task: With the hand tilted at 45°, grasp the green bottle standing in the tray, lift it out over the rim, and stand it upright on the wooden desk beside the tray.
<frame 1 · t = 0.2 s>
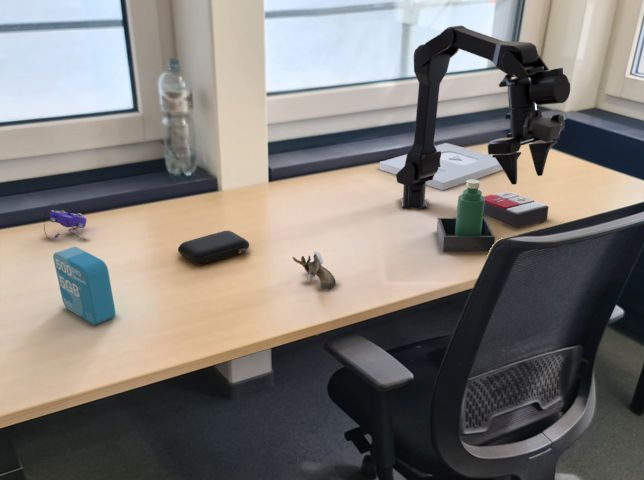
hand: (527, 179, 168), 15 cm above the table, tool pointing down, fingers open, 9 cm apart
purple legged piece: (70, 235, 179), on the table
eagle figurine: (316, 282, 159), on the table
data package: (90, 314, 147), on the table
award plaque: (444, 169, 223), on the table
bottle: (466, 243, 176), resting on tray
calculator: (510, 216, 192), on the table
tray: (464, 243, 177), on the table
carrying case: (215, 255, 170), on the table
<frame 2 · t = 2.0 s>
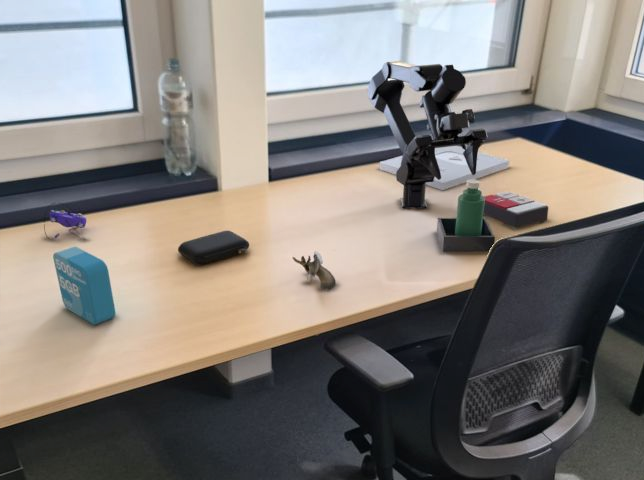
hand: (457, 176, 174), 14 cm above the table, tool tilted 45°, fingers open, 9 cm apart
nothing on the table moved.
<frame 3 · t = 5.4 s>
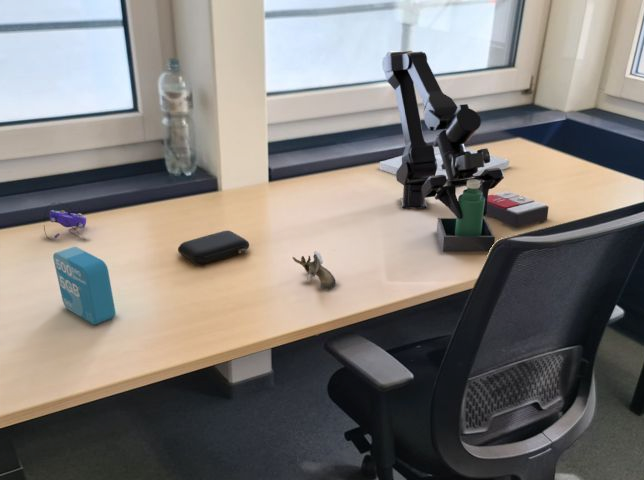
hand: (473, 216, 171), 7 cm above the table, tool tilted 45°, fingers closed on bottle, 6 cm apart
bottle: (466, 243, 176), resting on tray, touching gripper
everything else where it was.
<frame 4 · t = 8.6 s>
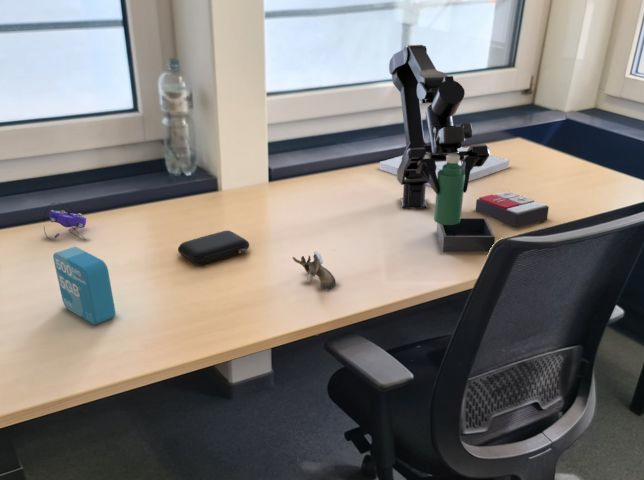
hand: (451, 192, 167), 13 cm above the table, tool tilted 45°, fingers closed on bottle, 6 cm apart
bottle: (447, 220, 172), point 6 cm above the table, touching gripper
everything else where it was.
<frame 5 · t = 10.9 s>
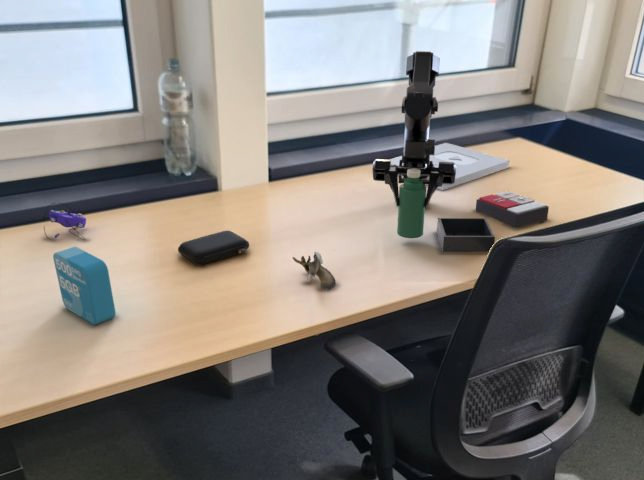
hand: (411, 206, 169), 10 cm above the table, tool tilted 45°, fingers closed on bottle, 6 cm apart
bottle: (410, 233, 174), point 3 cm above the table, touching gripper
everything else where it was.
when the fingers open (7 cm above the table, at t = 12.2 s): bottle stays where it is, on the table.
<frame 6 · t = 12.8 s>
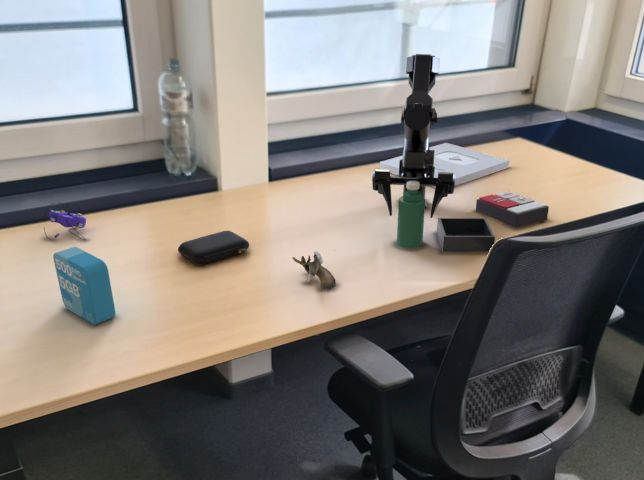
hand: (410, 216, 170), 8 cm above the table, tool tilted 45°, fingers open, 9 cm apart
bottle: (409, 244, 176), on the table
everything else where it was.
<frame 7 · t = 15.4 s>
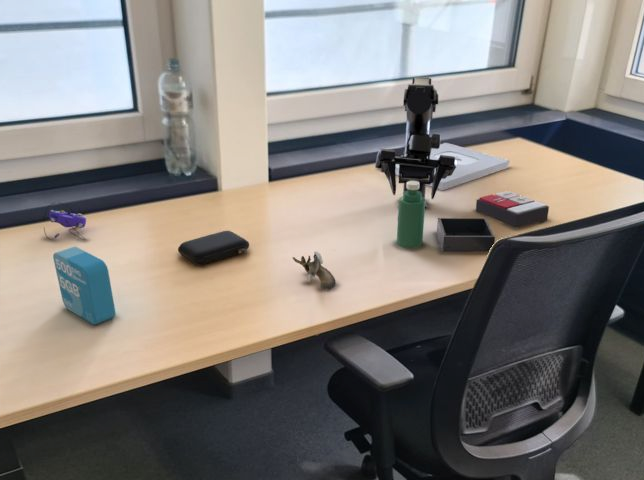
hand: (413, 196, 178), 9 cm above the table, tool tilted 40°, fingers open, 9 cm apart
nothing on the table moved.
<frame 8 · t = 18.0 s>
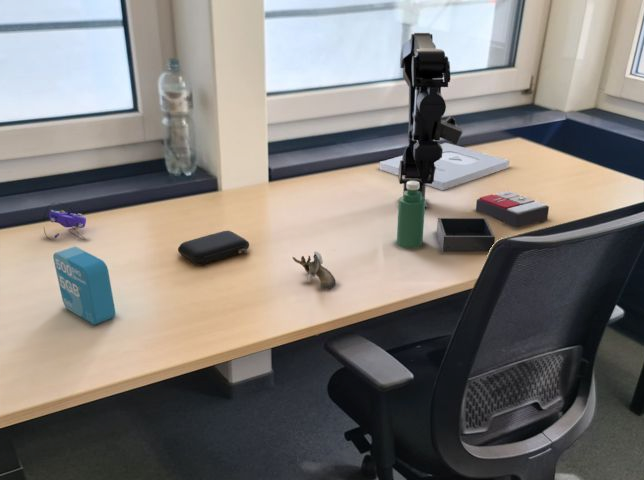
hand: (422, 177, 180), 12 cm above the table, tool pointing down, fingers open, 9 cm apart
nothing on the table moved.
at the end: bottle inside the target area (0.1 cm from its centre), on the table; bottle tilted 0°; the gripper is holding nothing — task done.
